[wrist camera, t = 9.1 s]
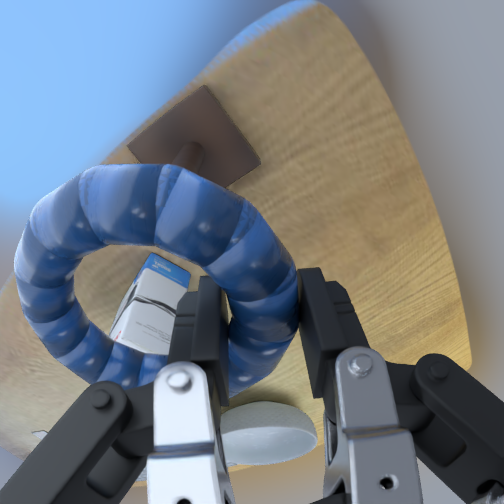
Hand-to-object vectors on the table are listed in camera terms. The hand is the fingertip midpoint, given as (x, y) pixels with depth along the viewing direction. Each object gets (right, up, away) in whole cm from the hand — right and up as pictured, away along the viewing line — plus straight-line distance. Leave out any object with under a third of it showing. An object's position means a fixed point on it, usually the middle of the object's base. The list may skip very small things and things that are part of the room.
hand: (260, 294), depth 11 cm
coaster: (-52, -46, +48) cm, 84 cm away
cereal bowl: (+1, -25, +38) cm, 45 cm away
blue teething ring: (-4, -1, -1) cm, 4 cm away
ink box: (-11, -2, +23) cm, 26 cm away
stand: (-5, +10, +15) cm, 19 cm away
